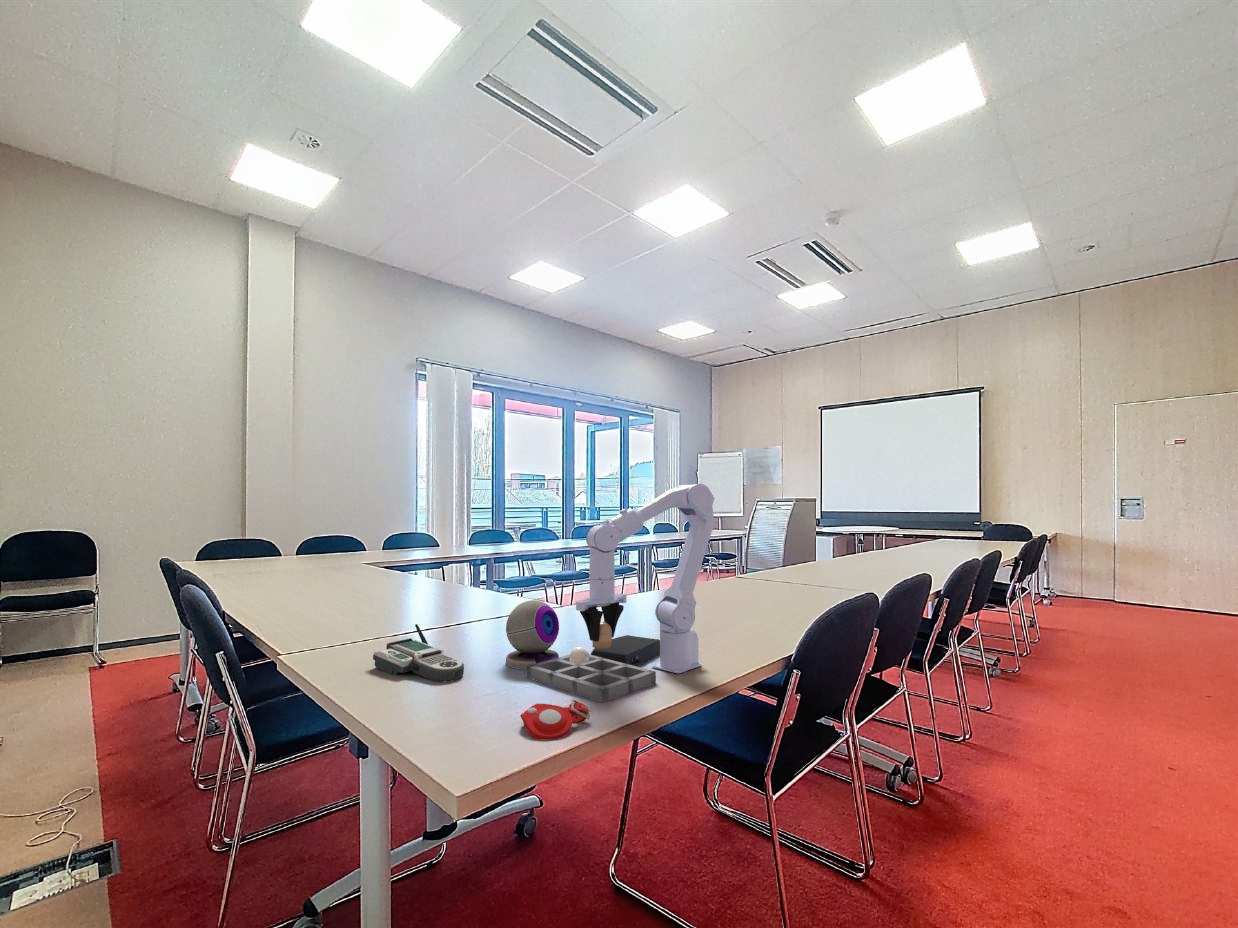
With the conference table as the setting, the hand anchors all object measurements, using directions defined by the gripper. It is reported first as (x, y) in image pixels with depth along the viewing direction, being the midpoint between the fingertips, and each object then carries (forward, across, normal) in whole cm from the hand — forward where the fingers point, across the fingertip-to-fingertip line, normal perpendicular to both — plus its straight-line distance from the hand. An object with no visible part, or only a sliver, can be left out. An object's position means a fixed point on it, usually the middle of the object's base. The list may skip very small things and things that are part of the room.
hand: (601, 638), depth 131 cm
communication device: (+9, -26, +34) cm, 43 cm away
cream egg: (+8, 0, +8) cm, 11 cm away
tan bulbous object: (+2, 0, 0) cm, 2 cm away
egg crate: (+8, -4, 0) cm, 9 cm away
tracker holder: (+9, -26, -15) cm, 32 cm away
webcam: (+9, -3, +21) cm, 23 cm away
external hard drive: (+9, +16, +6) cm, 19 cm away
